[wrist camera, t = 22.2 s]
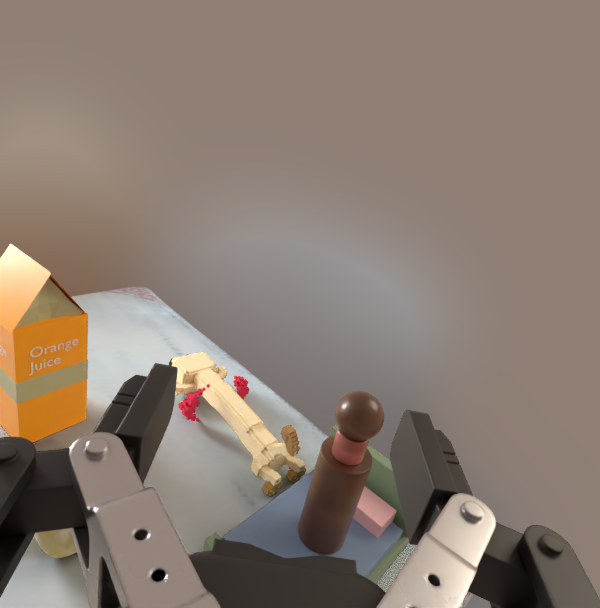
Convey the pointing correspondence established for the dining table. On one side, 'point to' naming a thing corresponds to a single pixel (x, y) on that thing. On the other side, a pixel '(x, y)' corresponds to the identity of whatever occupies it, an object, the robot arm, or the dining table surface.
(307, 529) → the skittle
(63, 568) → the dining table surface
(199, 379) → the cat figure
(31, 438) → the orange juice
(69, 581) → the dining table surface
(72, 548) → the fruit
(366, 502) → the bed
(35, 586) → the dining table surface
